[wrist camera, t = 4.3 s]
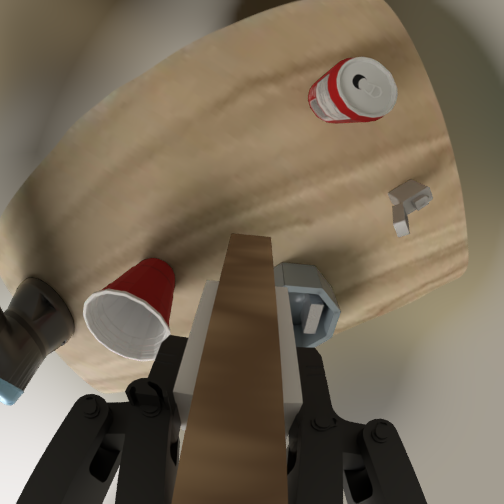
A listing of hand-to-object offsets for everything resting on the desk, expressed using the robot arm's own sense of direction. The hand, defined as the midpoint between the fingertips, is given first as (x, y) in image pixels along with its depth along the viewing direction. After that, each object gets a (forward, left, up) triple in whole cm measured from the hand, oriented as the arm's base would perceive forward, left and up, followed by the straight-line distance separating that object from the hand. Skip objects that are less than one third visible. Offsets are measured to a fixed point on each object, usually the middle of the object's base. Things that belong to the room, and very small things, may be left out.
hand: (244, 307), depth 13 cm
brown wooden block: (0, 0, -5) cm, 5 cm away
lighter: (+17, +3, -21) cm, 27 cm away
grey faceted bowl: (+6, -13, -20) cm, 25 cm away
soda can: (+7, +13, -21) cm, 25 cm away
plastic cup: (-13, -12, -21) cm, 27 cm away
